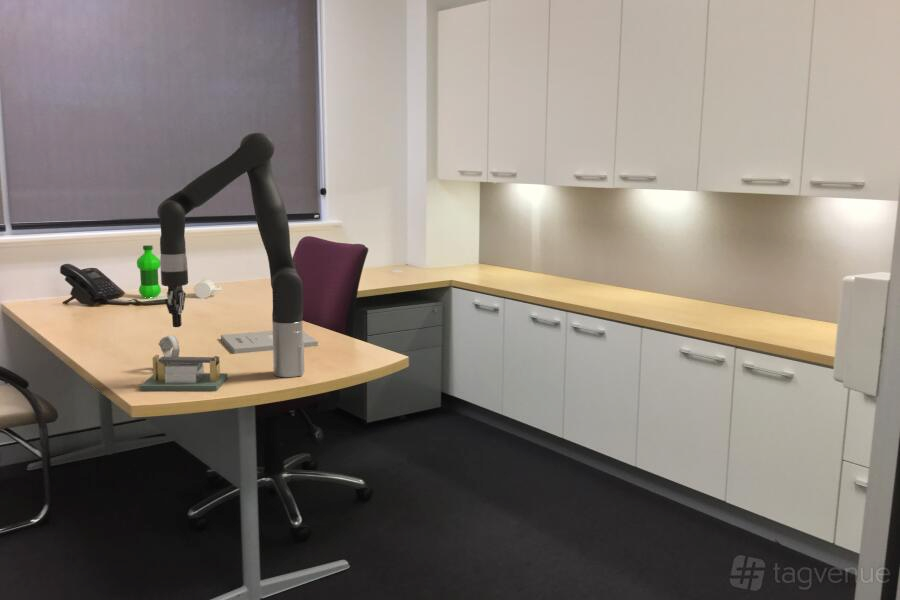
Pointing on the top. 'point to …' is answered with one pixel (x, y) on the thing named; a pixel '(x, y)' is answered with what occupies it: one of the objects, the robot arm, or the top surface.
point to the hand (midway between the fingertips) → (177, 326)
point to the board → (201, 385)
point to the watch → (169, 346)
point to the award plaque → (257, 341)
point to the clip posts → (160, 366)
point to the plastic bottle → (149, 273)
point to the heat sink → (183, 373)
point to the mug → (205, 288)
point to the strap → (189, 359)
